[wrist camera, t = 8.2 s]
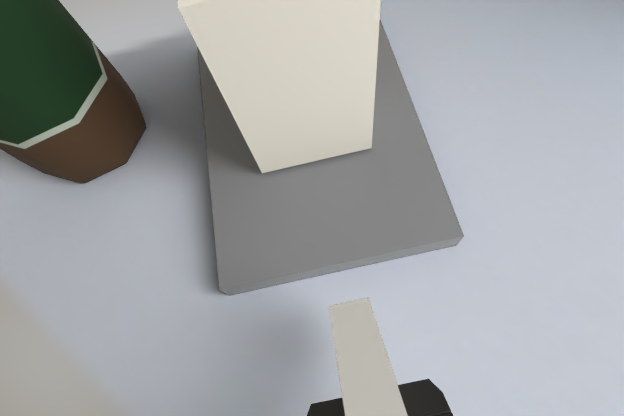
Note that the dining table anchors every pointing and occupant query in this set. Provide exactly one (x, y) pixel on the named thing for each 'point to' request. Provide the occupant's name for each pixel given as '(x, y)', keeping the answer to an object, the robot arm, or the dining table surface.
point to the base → (325, 195)
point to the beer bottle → (61, 95)
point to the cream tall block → (292, 73)
